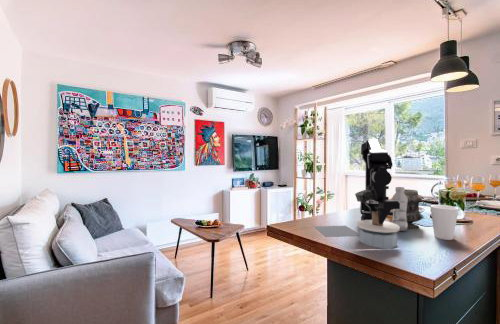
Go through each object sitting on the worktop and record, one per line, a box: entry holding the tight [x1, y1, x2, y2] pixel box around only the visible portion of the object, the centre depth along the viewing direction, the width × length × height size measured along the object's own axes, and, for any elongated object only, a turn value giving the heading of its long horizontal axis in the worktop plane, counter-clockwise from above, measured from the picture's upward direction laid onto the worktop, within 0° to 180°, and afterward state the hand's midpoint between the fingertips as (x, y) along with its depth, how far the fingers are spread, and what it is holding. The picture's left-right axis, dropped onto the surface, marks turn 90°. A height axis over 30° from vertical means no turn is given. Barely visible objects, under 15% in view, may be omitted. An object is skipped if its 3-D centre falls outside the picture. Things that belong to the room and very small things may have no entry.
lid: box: [356, 211, 400, 233], centre depth 101 cm, size 15×15×6 cm
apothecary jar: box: [404, 188, 423, 230], centre depth 125 cm, size 12×12×18 cm
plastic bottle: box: [391, 186, 408, 232], centre depth 118 cm, size 6×7×20 cm
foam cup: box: [430, 204, 459, 241], centre depth 108 cm, size 10×9×13 cm
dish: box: [359, 228, 398, 250], centre depth 101 cm, size 13×13×5 cm
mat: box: [313, 225, 360, 238], centre depth 116 cm, size 16×16×1 cm
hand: (377, 222), depth 101 cm, fingers closed on lid, 4 cm apart
